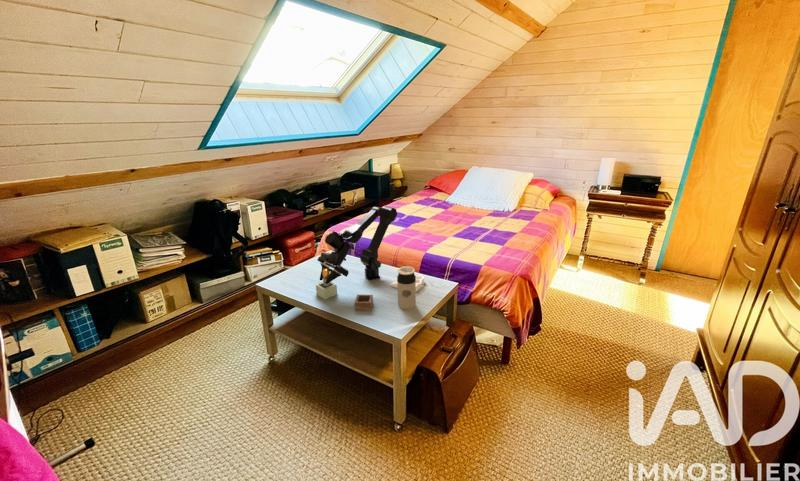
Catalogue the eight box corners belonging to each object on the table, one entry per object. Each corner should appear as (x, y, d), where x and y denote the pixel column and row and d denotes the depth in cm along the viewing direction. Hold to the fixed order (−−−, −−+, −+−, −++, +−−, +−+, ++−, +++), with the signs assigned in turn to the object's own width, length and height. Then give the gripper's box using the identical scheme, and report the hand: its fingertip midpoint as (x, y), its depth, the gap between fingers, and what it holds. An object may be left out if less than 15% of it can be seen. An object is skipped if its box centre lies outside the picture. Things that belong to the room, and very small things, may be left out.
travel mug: (400, 300, 167) (400, 265, 161) (417, 302, 165) (417, 267, 159) (395, 309, 160) (394, 273, 154) (413, 312, 158) (412, 275, 152)
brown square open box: (357, 304, 165) (357, 294, 163) (373, 304, 165) (372, 294, 163) (355, 312, 159) (354, 302, 157) (371, 312, 158) (370, 302, 156)
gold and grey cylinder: (331, 293, 173) (330, 269, 169) (328, 296, 170) (327, 271, 166) (326, 291, 174) (325, 268, 170) (322, 294, 171) (321, 270, 167)
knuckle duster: (406, 277, 190) (430, 284, 182) (385, 291, 177) (410, 299, 169) (406, 271, 189) (430, 278, 181) (385, 285, 175) (410, 293, 167)
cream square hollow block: (329, 290, 177) (328, 279, 175) (337, 295, 173) (336, 284, 170) (316, 295, 173) (315, 284, 171) (324, 301, 168) (323, 289, 166)
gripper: (318, 240, 172) (300, 268, 170) (341, 251, 160) (322, 281, 157) (334, 250, 180) (317, 278, 177) (356, 261, 168) (338, 291, 165)
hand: (323, 281), depth 169 cm, fingers open, 5 cm apart
